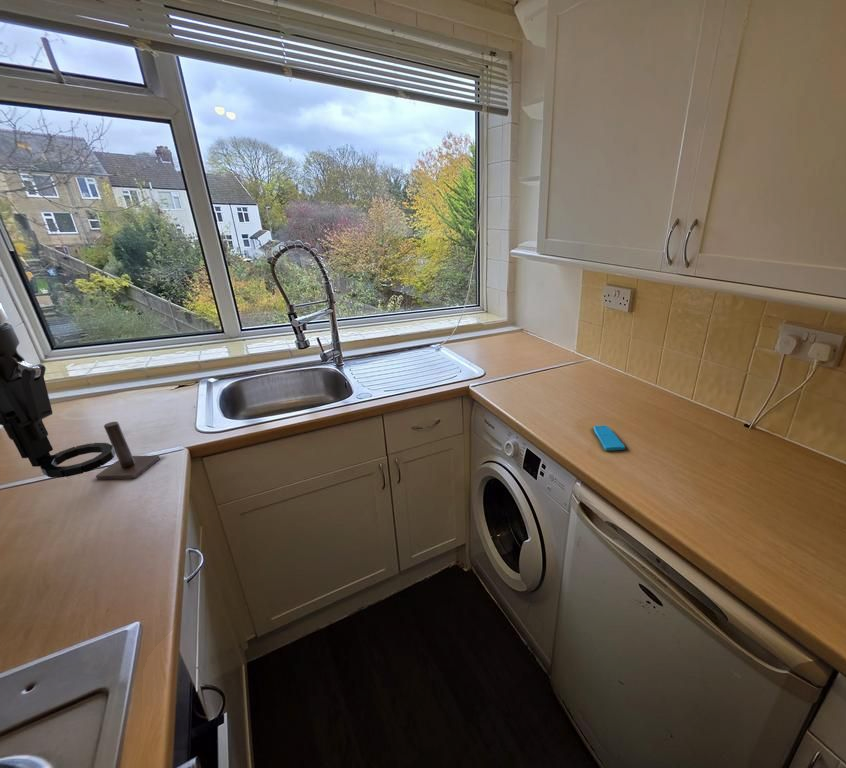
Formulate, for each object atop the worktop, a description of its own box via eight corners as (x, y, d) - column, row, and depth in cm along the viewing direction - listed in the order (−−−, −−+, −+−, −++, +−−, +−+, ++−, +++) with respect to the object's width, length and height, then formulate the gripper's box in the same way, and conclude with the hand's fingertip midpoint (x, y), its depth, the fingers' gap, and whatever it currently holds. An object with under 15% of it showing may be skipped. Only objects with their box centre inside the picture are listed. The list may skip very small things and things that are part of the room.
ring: (128, 448, 79) (109, 402, 75) (85, 477, 70) (62, 426, 66) (63, 449, 78) (40, 402, 74) (12, 478, 69) (-16, 427, 65)
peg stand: (97, 479, 91) (75, 433, 87) (125, 459, 99) (107, 415, 94) (134, 478, 92) (115, 432, 87) (160, 458, 99) (143, 415, 95)
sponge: (612, 425, 118) (593, 423, 117) (627, 447, 107) (606, 446, 106) (611, 430, 118) (592, 428, 117) (625, 452, 107) (604, 451, 106)
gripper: (46, 320, 67) (98, 442, 77) (-48, 319, 66) (16, 443, 76) (-3, 333, 61) (61, 465, 70) (-109, 332, 60) (-30, 466, 69)
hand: (38, 453), depth 73 cm, fingers closed on ring
